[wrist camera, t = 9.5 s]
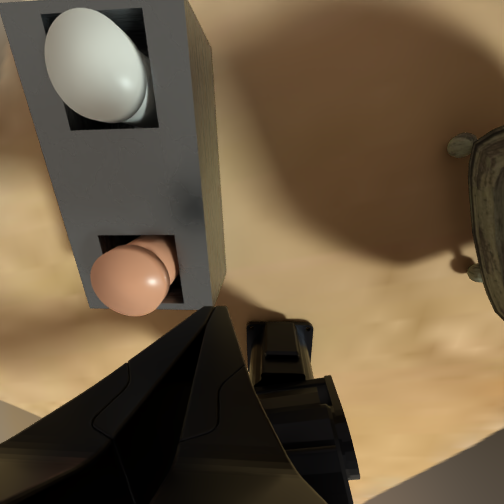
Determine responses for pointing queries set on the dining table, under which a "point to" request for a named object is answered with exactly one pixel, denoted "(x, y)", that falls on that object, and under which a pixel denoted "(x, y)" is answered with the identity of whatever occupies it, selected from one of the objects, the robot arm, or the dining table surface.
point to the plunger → (99, 69)
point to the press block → (133, 145)
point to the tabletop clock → (486, 208)
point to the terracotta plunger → (136, 274)
